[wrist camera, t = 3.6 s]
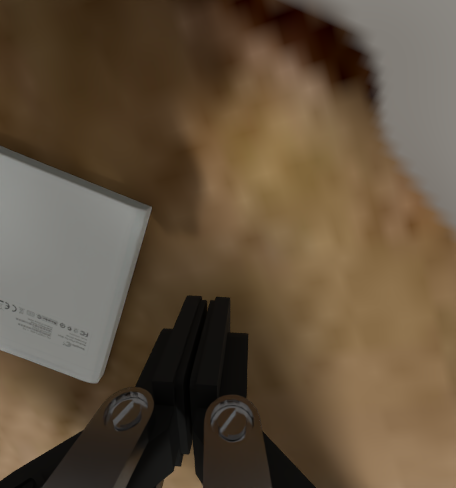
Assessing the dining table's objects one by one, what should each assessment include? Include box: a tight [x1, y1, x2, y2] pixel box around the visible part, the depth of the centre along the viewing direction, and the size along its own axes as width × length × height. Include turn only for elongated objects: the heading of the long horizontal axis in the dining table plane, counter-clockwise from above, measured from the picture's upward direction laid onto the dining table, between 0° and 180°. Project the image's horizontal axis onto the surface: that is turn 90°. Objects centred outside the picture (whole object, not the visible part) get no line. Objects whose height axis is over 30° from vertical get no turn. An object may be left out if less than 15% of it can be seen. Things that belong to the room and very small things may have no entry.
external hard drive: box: [0, 146, 152, 383], centre depth 16 cm, size 2×8×12 cm
